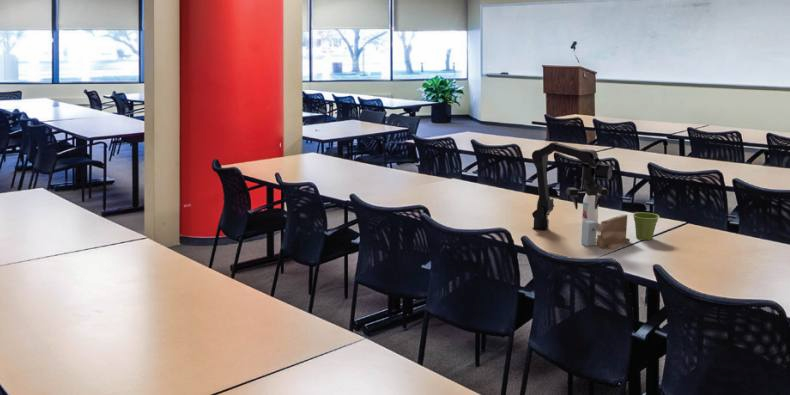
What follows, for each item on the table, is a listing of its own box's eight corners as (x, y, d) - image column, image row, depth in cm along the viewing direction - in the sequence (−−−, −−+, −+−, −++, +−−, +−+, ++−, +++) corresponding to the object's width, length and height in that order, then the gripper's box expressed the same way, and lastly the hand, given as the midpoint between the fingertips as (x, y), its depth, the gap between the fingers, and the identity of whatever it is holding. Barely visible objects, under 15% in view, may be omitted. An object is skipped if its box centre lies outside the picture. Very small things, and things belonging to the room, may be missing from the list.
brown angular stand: (583, 244, 331) (584, 218, 329) (605, 235, 345) (606, 211, 343) (609, 249, 322) (611, 223, 320) (631, 241, 336) (633, 216, 333)
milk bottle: (598, 221, 373) (600, 183, 368) (597, 225, 365) (599, 186, 361) (582, 220, 375) (584, 182, 371) (581, 224, 368) (583, 185, 364)
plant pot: (630, 240, 337) (631, 217, 335) (632, 234, 348) (633, 211, 346) (657, 242, 333) (659, 219, 331) (658, 236, 344) (659, 213, 341)
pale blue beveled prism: (581, 244, 332) (582, 221, 329) (589, 242, 334) (590, 220, 332) (589, 246, 327) (590, 224, 325) (597, 245, 330) (598, 222, 328)
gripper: (574, 180, 331) (572, 213, 335) (614, 180, 333) (611, 213, 336) (566, 175, 342) (564, 207, 345) (605, 175, 343) (602, 207, 347)
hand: (585, 209), depth 343 cm, fingers open, 9 cm apart
